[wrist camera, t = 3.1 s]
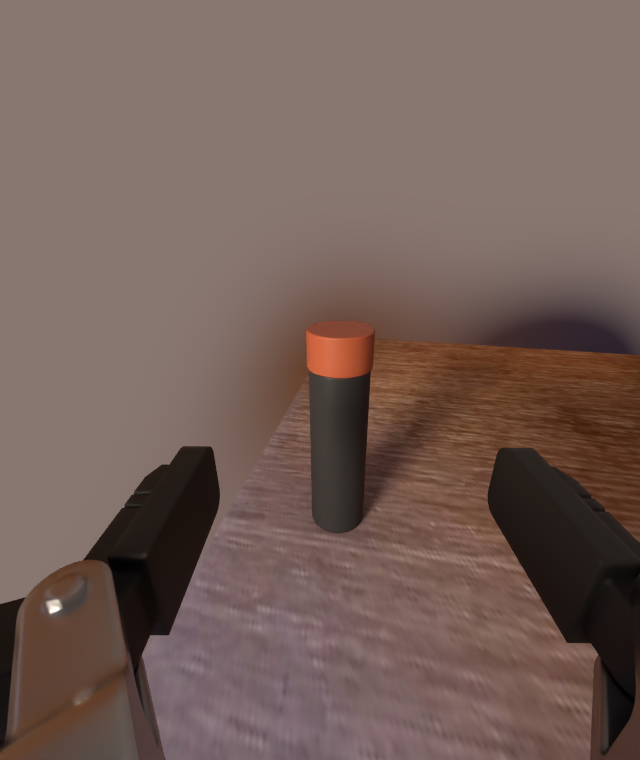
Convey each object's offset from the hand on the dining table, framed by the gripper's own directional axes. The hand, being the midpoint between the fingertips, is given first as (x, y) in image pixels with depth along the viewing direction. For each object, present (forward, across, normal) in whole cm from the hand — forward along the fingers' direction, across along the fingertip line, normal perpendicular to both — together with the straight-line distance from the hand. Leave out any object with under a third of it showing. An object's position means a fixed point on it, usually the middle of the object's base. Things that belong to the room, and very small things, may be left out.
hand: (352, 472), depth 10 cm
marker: (+9, 0, +10) cm, 13 cm away
